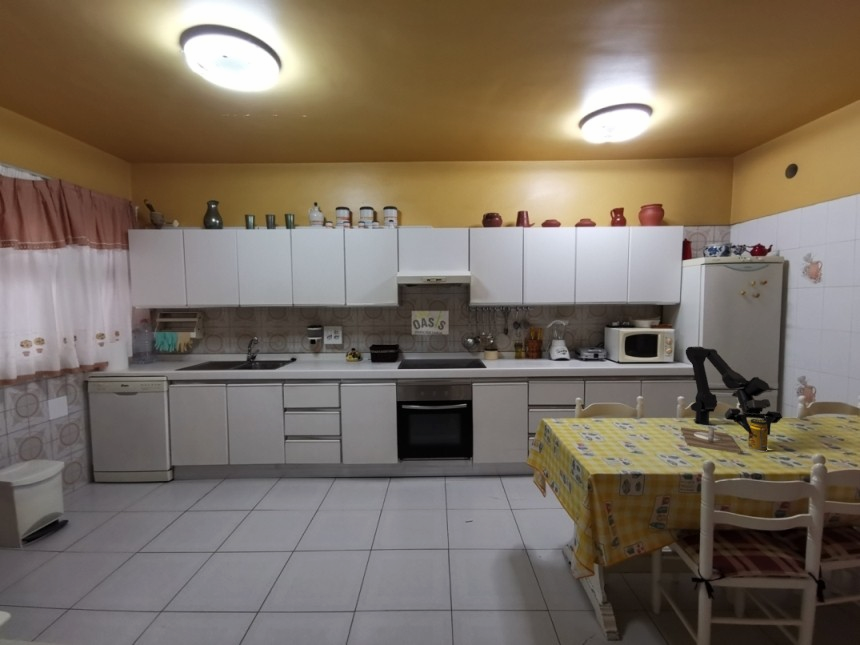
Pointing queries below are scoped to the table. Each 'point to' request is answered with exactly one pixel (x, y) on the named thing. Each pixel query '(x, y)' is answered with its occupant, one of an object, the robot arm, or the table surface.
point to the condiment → (758, 435)
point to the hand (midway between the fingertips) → (759, 433)
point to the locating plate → (706, 444)
